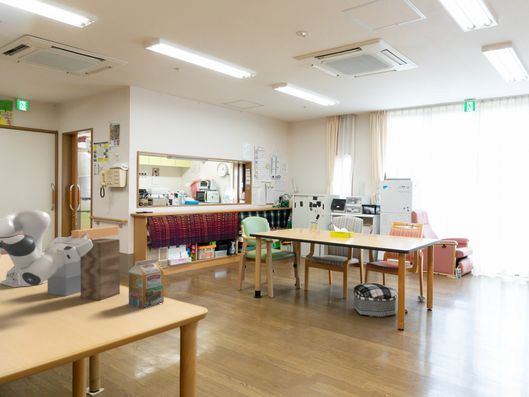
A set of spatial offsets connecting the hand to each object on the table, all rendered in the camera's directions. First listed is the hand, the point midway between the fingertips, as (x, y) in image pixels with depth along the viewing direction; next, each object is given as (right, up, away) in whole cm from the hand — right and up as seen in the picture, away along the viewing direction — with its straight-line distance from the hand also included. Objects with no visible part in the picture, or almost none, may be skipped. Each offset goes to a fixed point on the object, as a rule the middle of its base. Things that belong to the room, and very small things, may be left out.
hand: (82, 234), depth 178 cm
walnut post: (+4, -30, +10) cm, 31 cm away
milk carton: (+29, -30, -2) cm, 42 cm away
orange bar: (+3, -2, +7) cm, 8 cm away
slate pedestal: (-15, -29, +17) cm, 37 cm away
